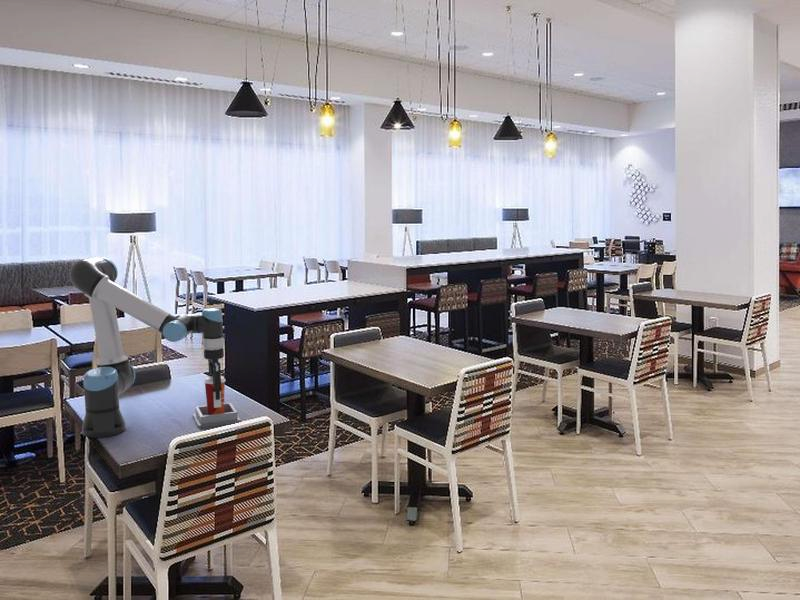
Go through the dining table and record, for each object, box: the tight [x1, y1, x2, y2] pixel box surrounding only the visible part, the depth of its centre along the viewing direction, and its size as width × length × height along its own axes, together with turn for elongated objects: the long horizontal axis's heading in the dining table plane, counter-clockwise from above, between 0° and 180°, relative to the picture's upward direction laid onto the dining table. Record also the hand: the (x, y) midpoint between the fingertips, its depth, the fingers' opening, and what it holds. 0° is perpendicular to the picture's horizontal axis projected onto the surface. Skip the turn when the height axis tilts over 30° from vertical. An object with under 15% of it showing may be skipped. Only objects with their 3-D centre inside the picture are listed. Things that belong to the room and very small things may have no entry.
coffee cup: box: [203, 375, 226, 415], centre depth 266 cm, size 8×8×15 cm
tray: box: [192, 402, 242, 429], centre depth 267 cm, size 16×16×4 cm
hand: (215, 404), depth 267 cm, fingers closed on coffee cup, 8 cm apart
